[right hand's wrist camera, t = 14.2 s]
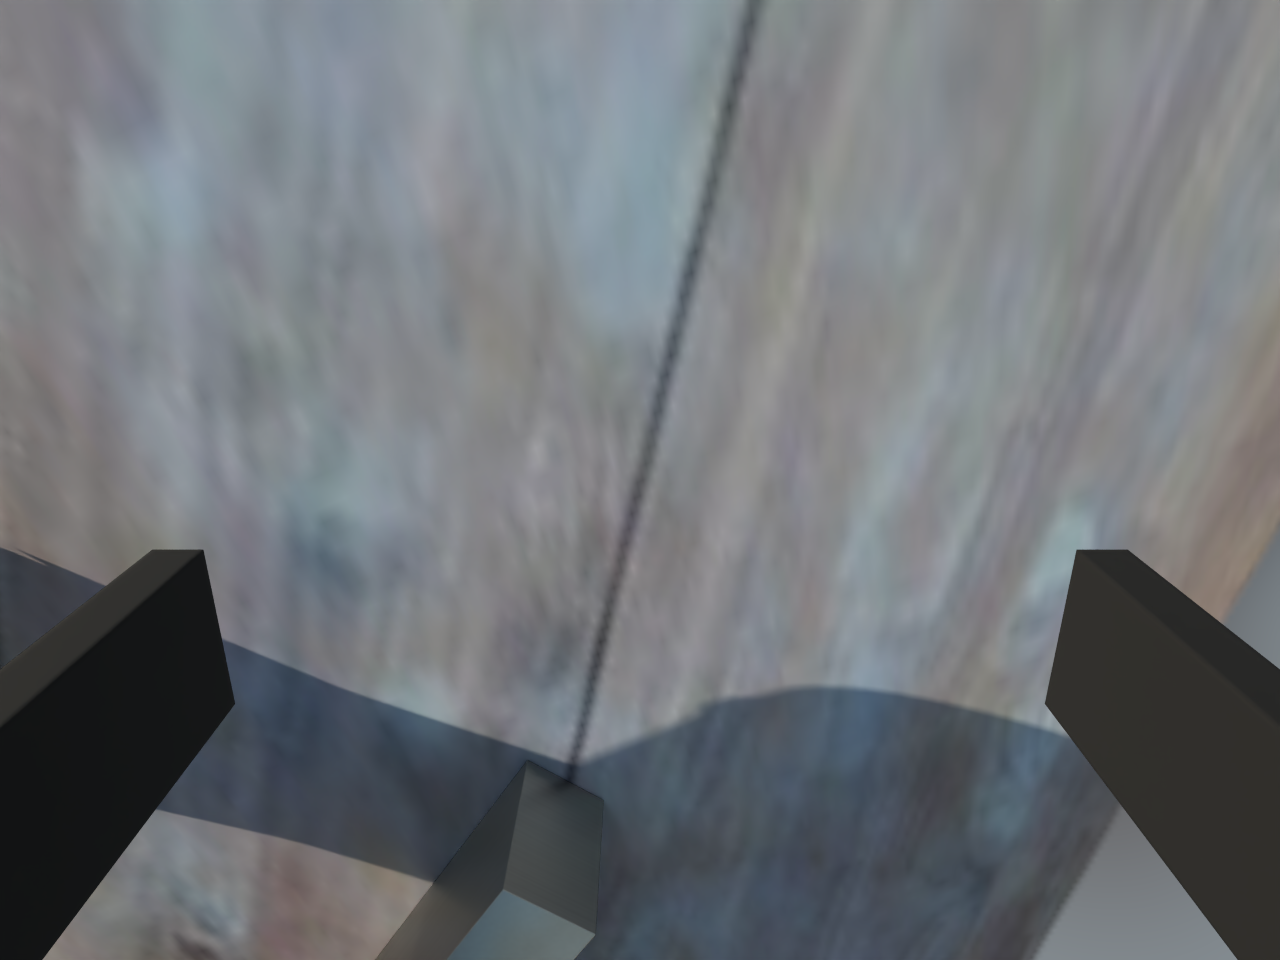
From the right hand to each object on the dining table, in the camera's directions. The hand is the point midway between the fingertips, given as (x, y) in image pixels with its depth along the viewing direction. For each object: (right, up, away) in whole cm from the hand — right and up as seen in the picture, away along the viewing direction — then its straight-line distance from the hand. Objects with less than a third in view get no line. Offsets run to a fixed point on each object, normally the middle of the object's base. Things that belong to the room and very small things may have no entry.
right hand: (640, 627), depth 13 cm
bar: (-11, -25, +39) cm, 47 cm away
